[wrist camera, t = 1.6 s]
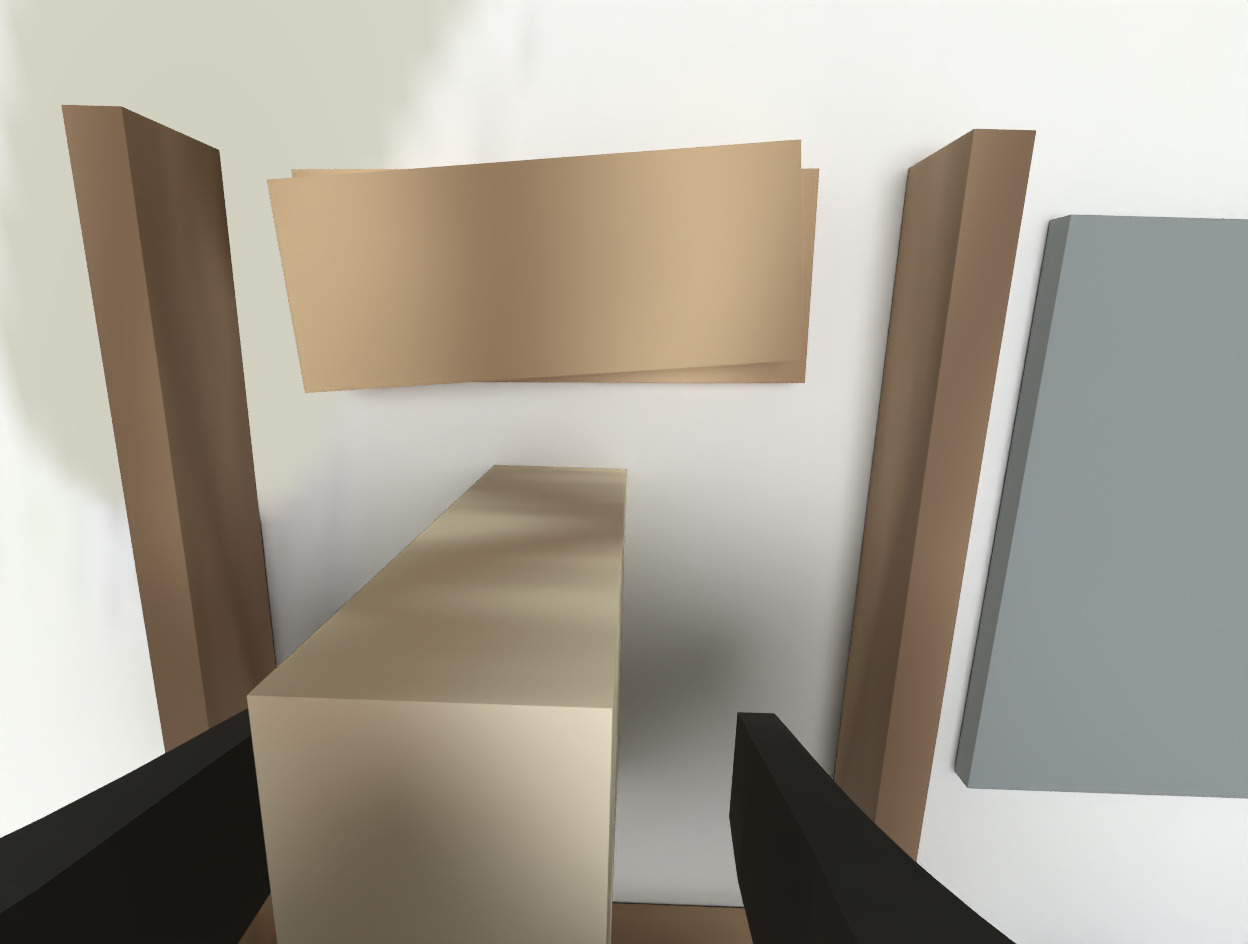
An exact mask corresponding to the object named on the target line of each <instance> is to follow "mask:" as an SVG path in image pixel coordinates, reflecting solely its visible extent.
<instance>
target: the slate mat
mask: <svg viewBox="0 0 1248 944" xmlns="http://www.w3.org/2000/svg"><path fill="white" fill-rule="evenodd" d="M955 772H956V773H957V775H958V776H959V777H960V779H961V780H962V781H963V783H964V784H965V785H966V787H967V788H978V789H1005V790H1032V791H1059V792H1086V793H1113V794H1140V795H1167V796H1194V797H1221V798H1248V220H1246V219H1210V218H1173V217H1137V216H1101V215H1068V216H1065V217H1061V218H1057V219H1054V220H1050V226H1049V231H1048V237H1047V243H1046V249H1045V254H1044V260H1043V266H1042V272H1041V277H1040V283H1039V289H1038V295H1037V300H1036V306H1035V312H1034V318H1033V323H1032V329H1031V335H1030V341H1029V346H1028V352H1027V358H1026V363H1025V369H1024V375H1023V381H1022V386H1021V392H1020V398H1019V404H1018V409H1017V415H1016V421H1015V427H1014V432H1013V438H1012V444H1011V450H1010V455H1009V461H1008V467H1007V473H1006V478H1005V484H1004V490H1003V496H1002V501H1001V507H1000V513H999V519H998V524H997V530H996V536H995V542H994V547H993V553H992V559H991V565H990V570H989V576H988V582H987V588H986V593H985V599H984V605H983V611H982V616H981V622H980V628H979V633H978V639H977V645H976V651H975V656H974V662H973V668H972V674H971V679H970V685H969V691H968V697H967V702H966V708H965V714H964V720H963V725H962V731H961V737H960V743H959V748H958V754H957V760H956V766H955Z"/></svg>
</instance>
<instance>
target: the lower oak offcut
mask: <svg viewBox="0 0 1248 944" xmlns="http://www.w3.org/2000/svg"><path fill="white" fill-rule="evenodd" d="M390 170H403V169H349V170H348V169H345V170H340V169H339V170H338V169H337V170H335V169H334V170H292V178H297V177H311V176H324V175H337V174H350V173H364V172H377V171H390ZM818 179H819V169H801V360H796V361H780V362H765V363H750V364H735V365H720V366H705V367H689V368H674V369H659V370H644V371H629V372H614V373H598V374H583V375H568V376H553V377H538V378H523V379H507V380H492V381H477V382H667V383H805V371H806V356H807V341H808V326H809V312H810V297H811V282H812V267H813V253H814V238H815V223H816V208H817V193H818Z"/></svg>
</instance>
